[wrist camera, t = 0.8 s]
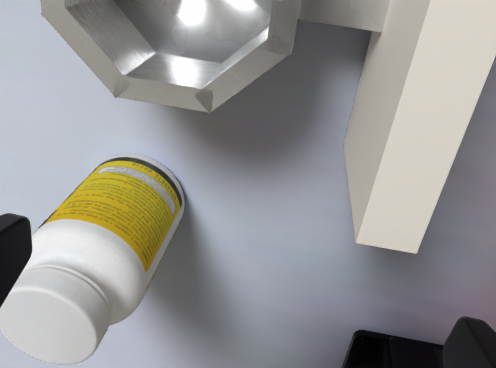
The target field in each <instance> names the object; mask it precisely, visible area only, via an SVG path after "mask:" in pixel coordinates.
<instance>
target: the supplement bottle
mask: <svg viewBox="0 0 496 368" xmlns="http://www.w3.org/2000/svg"><path fill="white" fill-rule="evenodd" d="M184 207H185V202H184V195H183V191H182V189H181V186H180V184H179V183H178V181H177V179H176V178H175V176H174V175H173V174H172V173H171V172H170V171H169V170H168V169H167V168H166V167H165V166H163V165H162V164H160V163H159V162H157V161H155V160H153V159H151V158H148V157H145V156H141V155H136V154H122V155H117V156H114V157H111V158H109V159H107V160H105V161H104V162H102V163H101V164H100V165H99V166H98V167H97V168H96V169H95V170H94V171H93V172H92V173H91V174H90V175H89V176H88V177H87V178H86V179H85V180H84V181H83V182H82V183H81V184H80V185H79V186H78V187H77V188H76V189H75V190H74V191H73V192H72V193H71V194H70V196H69V197H68V198H67V199H66V200H65V201H64V202H63V203H62V204H61V205H60V206H59V207H58V208H57V209H56V210H55V211H54V212H53V213H52V214H51V215H50V216H49V218H48V219H46V220H45V221H44V222H43V223H42V225H41V226H40V227H39V228H38V229H37V230H36V231H35V232H34V234H33V235H32V236H31V237H32V254H31V257H30V259H29V261H28V263H27V265H26V266H25V268H24V270H23V271H22V273H21V275H20V276H19V278H18V280H17V281H16V283H15V285H14V286H13V288H12V290H11V291H10V293H9V295H8V296H7V298H6V300H5V301H4V303H3V304H2V306H1V308H0V329H1V331H2V333H3V334H4V335H5V337H6V338H7V339H8V340H9V341H10V342H11V343H12V344H13V345H14V346H16V347H17V348H18V349H20V350H21V351H23V352H24V353H26V354H28V355H30V356H32V357H34V358H36V359H39V360H42V361H45V362H49V363H54V364H75V363H79V362H82V361H84V360H86V359H88V358H89V357H90V356H91V355H92V354H93V353H94V352H95V351H96V349H97V347H98V346H99V344H100V342H101V340H102V338H103V336H104V335H105V333H106V331H107V329H108V327H109V325H112V324H115V323H118V322H120V321H122V320H124V319H125V318H127V317H128V316H130V315H131V314H132V313H133V312H134V311H135V309H136V308H137V307H138V305H139V304H140V302H141V300H142V298H143V296H144V294H145V292H146V290H147V289H148V286H149V284H150V282H151V280H152V278H153V276H154V274H155V272H156V270H157V268H158V266H159V264H160V262H161V260H162V258H163V256H164V254H165V252H166V250H167V247H168V246H169V244H170V242H171V240H172V238H173V236H174V234H175V232H176V230H177V228H178V225H179V223H180V221H181V219H182V216H183V213H184Z"/></svg>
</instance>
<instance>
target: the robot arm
mask: <svg viewBox="0 0 496 368" xmlns="http://www.w3.org/2000/svg"><path fill="white" fill-rule="evenodd" d="M31 254H32V237H31V226H30V221H29V219H28V218H27V217H25V216H20V215H16V214H11V213H7V214H4V215H1V216H0V308H1V306H2V304H3V303H4V301H5V300H6V298H7V296H8V295H9V293H10V291H11V290H12V288H13V286H14V285H15V283H16V281H17V280H18V278H19V276H20V275H21V273H22V271H23V270H24V268H25V266H26V265H27V263H28V261H29V259H30V257H31ZM360 338H363V339H360ZM342 368H496V332H495V331H494V330H493V329H492V328H491V327H490V326H489V325H488V324H487V323H486V322H484V321H482V320H480V319H475V318H471V317H466V316H463V317H461V318H459V319H458V321H457V322H456V324H455V326H454V327H453V329H452V331H451V333H450V335H449V336H448V338H447V340H446V342H445V344H444V346H443V345H438V344H433V343H428V342H422V341H417V340H412V339H407V338H402V337H396V336H391V335H386V334H381V333H375V332H370V331H365V330H359V331H356V332H355V333H354V334H353V337H352V340H351V343H350V346H349V349H348V352H347V354H346V357H345V360H344V363H343V366H342Z"/></svg>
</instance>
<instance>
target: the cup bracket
mask: <svg viewBox="0 0 496 368" xmlns="http://www.w3.org/2000/svg"><path fill="white" fill-rule="evenodd" d="M390 1H391V0H41V10H42V13H41V14H42V16H44V17H45V18H46V20H47V21H48V22H49V23H50V24H51V25H52V26H53V27H54V29H55V30H56V31H57V32H58V33H59V34H60V35H61V36H62V38H63V39H64V40H65V41H66V42H67V43H68V44H69V45H70V47H71V48H72V49H73V50H74V51H75V52H76V53H77V54H78V56H79V57H80V58H81V59H82V60H83V61H84V62H85V63H86V65H87V66H88V67H89V68H90V69H91V70H92V71H93V72H94V74H95V75H96V76H97V77H98V78H99V79H100V80H101V81H102V83H103V84H104V85H105V86H106V87H107V88H108V89H109V90H110V92H111V93H112V94H113V95H114V97H116V98H117V97H119V98H125V99H131V100H137V101H143V102H149V103H155V104H161V105H167V106H173V107H179V108H185V109H191V110H197V111H203V112H208V113H212V112H213V110H215V109H216V108H217V107H219V106H220V105H222V104H223V103H224V102H226V101H227V100H228V99H230V98H231V97H232V96H234V95H235V94H237V93H238V92H239V91H241V90H242V89H243V88H245V87H246V86H247V85H249V84H250V83H252V82H253V81H254V80H256V79H257V78H258V77H260V76H261V75H262V74H264V73H265V72H267V71H268V70H269V69H271V68H272V67H273V66H275V65H276V64H277V63H279V62H280V61H282V60H283V59H284V58H286V57H287V56H288V55H291V53H292V51H293V46H294V41H295V37H296V26H297V20H305V21H311V22H318V23H324V24H331V25H337V26H344V27H351V28H357V29H364V30H370V31H377V32H382V31H383V28H384V24H385V20H386V16H387V12H388V9H389V5H390Z"/></svg>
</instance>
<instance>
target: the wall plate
mask: <svg viewBox="0 0 496 368" xmlns="http://www.w3.org/2000/svg"><path fill="white" fill-rule="evenodd" d="M495 56H496V0H391V1H390V5H389V9H388V12H387V16H386V20H385V24H384V28H383V31H382V32H377V31H372V34H371V38H370V41H369V45H368V49H367V53H366V57H365V61H364V65H363V69H362V73H361V77H360V81H359V85H358V89H357V93H356V97H355V101H354V104H353V108H352V112H351V116H350V120H349V124H348V128H347V132H346V136H345V140H344V144H343V147H344V155H345V163H346V170H347V178H348V186H349V194H350V201H351V209H352V217H353V224H354V232H355V240H356V243H359V244H365V245H370V246H376V247H381V248H387V249H392V250H398V251H404V252H409V253H415V254H417V251H418V249H419V246H420V244H421V241H422V239H423V236H424V234H425V231H426V229H427V226H428V224H429V221H430V219H431V216H432V214H433V211H434V209H435V206H436V204H437V201H438V199H439V196H440V194H441V191H442V189H443V186H444V184H445V181H446V179H447V176H448V174H449V171H450V169H451V166H452V164H453V161H454V159H455V156H456V154H457V151H458V149H459V146H460V144H461V141H462V139H463V136H464V134H465V131H466V129H467V126H468V124H469V121H470V119H471V116H472V114H473V111H474V109H475V106H476V103H477V101H478V98H479V96H480V93H481V91H482V88H483V86H484V83H485V81H486V78H487V76H488V73H489V71H490V68H491V66H492V63H493V61H494V58H495Z"/></svg>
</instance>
